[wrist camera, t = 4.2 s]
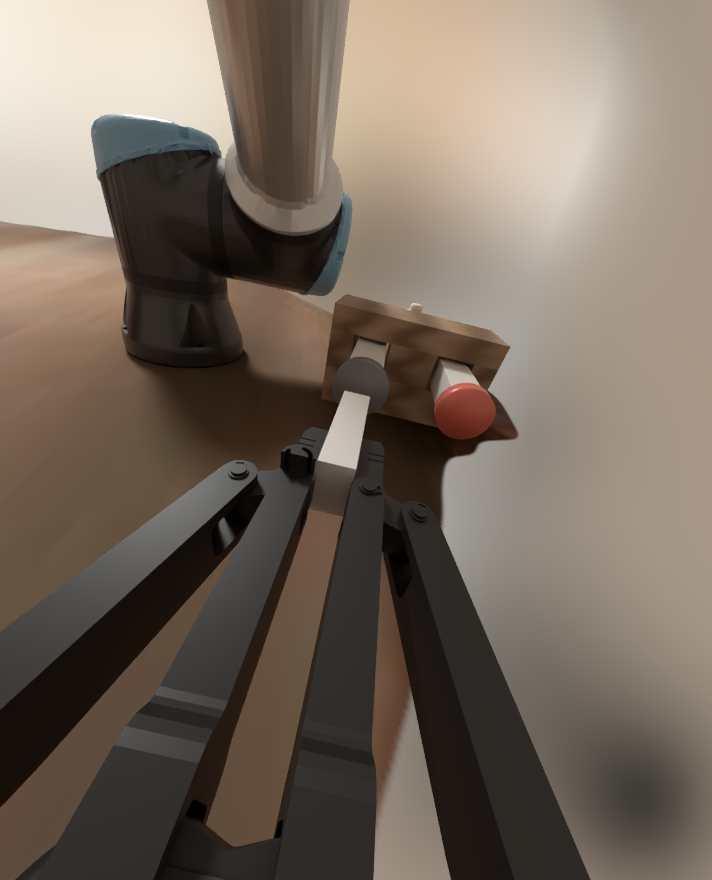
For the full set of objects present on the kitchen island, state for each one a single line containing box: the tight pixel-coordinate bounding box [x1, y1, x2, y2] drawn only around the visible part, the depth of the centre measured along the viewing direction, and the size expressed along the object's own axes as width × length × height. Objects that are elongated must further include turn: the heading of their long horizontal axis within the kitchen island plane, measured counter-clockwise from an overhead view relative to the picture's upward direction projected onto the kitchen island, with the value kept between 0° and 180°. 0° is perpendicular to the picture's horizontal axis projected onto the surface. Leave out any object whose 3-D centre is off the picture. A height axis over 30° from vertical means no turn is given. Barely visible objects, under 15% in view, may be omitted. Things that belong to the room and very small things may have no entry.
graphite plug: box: [332, 336, 389, 414], centre depth 30 cm, size 5×13×5 cm, turn 173°
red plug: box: [429, 356, 496, 439], centre depth 31 cm, size 5×13×5 cm, turn 173°
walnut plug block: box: [321, 295, 510, 428], centre depth 37 cm, size 20×8×12 cm, turn 83°
